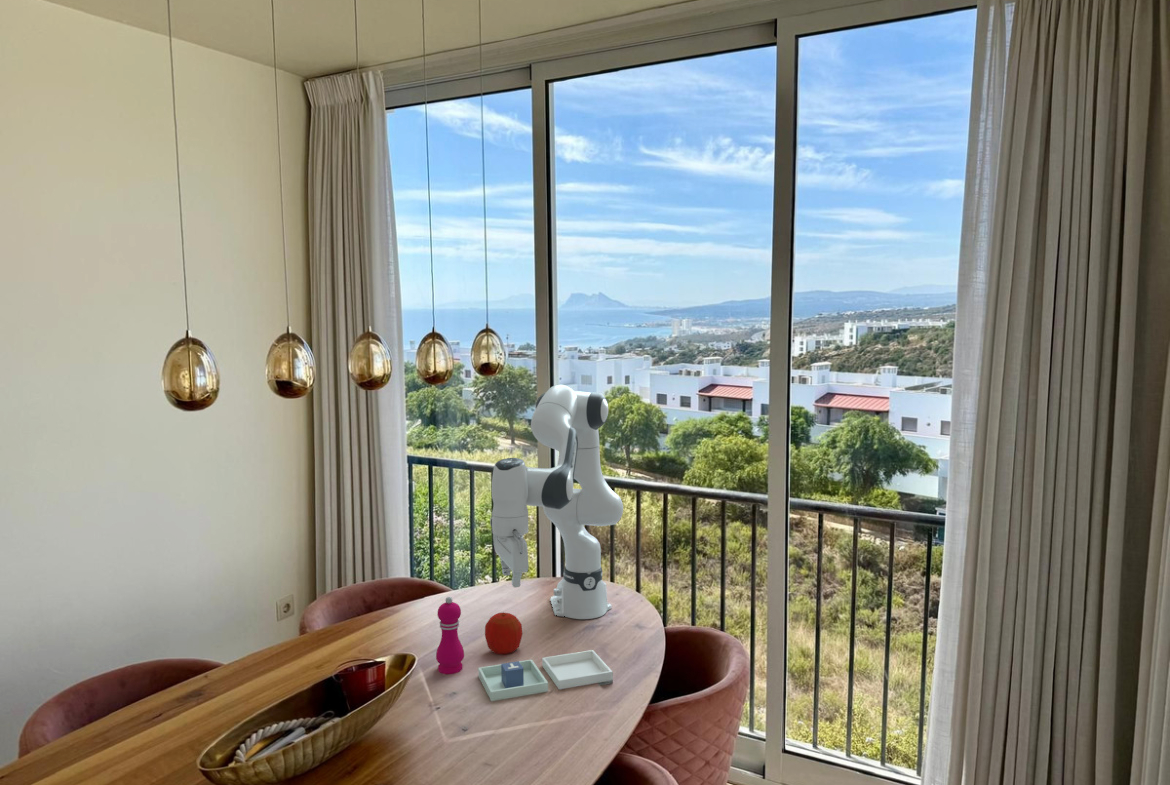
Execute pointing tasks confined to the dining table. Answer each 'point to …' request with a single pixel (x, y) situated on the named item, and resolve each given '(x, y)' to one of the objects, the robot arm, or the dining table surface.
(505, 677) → the letter cube
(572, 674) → the tray offwhite
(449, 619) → the pepper mill
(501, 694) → the tray sage
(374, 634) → the dining table surface
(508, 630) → the apple
